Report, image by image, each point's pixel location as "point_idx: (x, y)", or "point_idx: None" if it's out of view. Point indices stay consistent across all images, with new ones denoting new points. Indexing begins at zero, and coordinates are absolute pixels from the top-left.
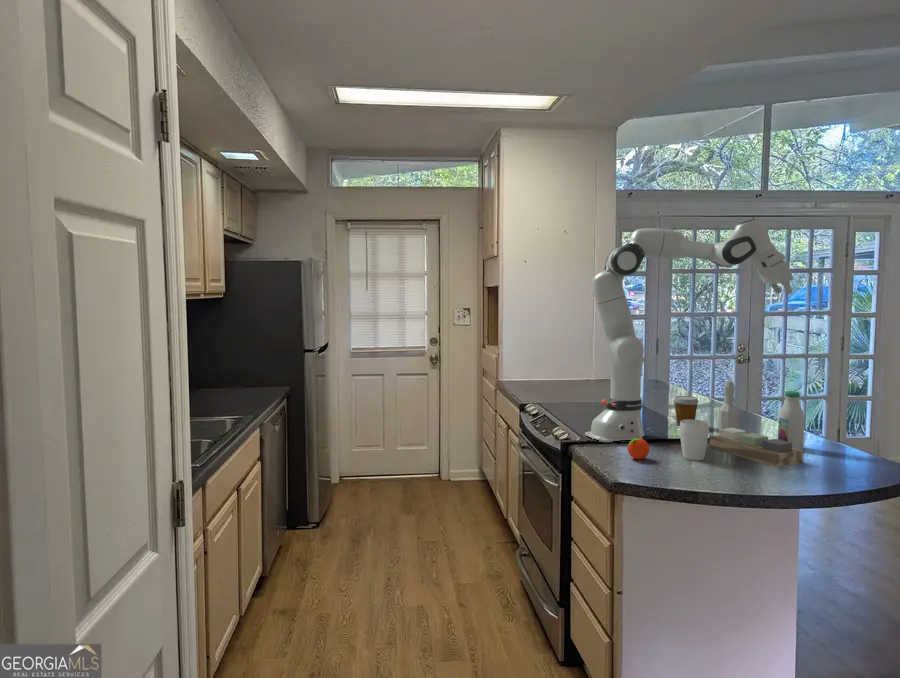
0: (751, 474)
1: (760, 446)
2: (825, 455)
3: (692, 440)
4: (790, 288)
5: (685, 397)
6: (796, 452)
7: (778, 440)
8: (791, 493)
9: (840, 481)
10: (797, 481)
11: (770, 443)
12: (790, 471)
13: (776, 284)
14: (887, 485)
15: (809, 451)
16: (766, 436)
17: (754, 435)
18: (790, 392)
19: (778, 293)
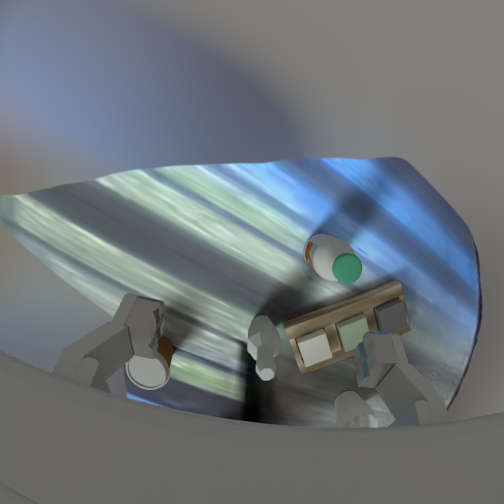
0: (418, 360)
1: (371, 330)
2: (362, 221)
3: (366, 420)
4: (404, 358)
5: (134, 366)
6: (403, 294)
7: (388, 313)
8: (468, 345)
9: (455, 277)
10: (447, 323)
11: (395, 330)
12: (419, 313)
13: (95, 353)
14: (471, 235)
15: (339, 231)
16: (363, 319)
17: (354, 334)
18: (355, 277)
19: (164, 322)
